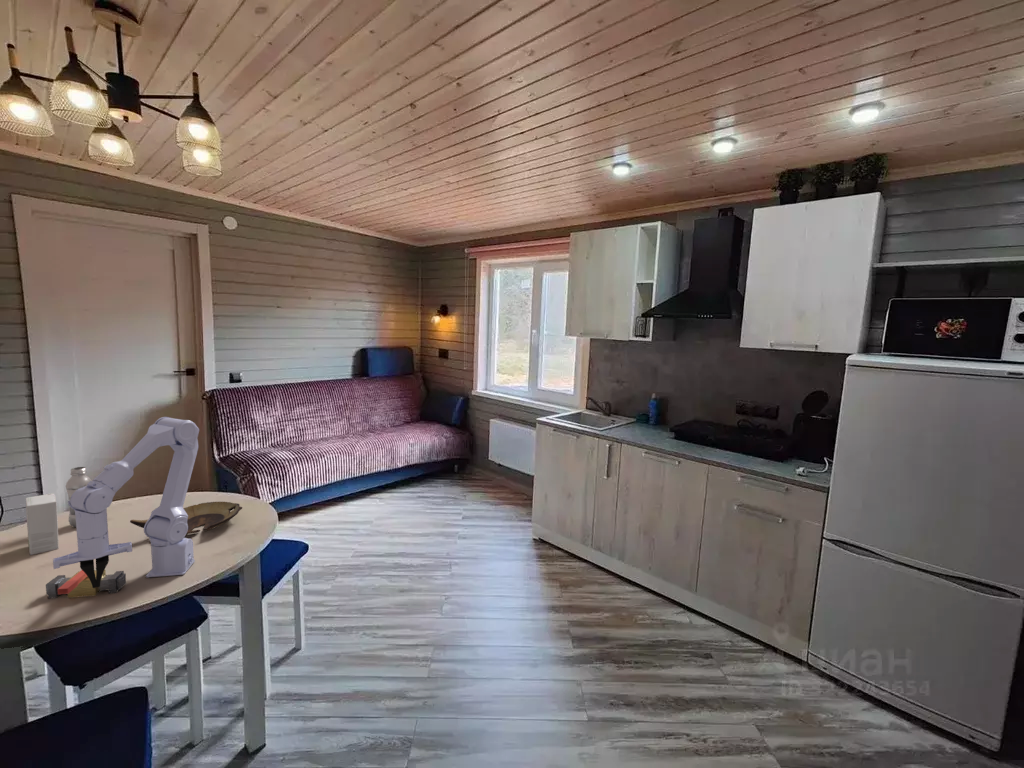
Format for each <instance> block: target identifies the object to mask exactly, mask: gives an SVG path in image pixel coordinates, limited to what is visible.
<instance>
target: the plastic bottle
mask: <svg viewBox="0 0 1024 768" xmlns="http://www.w3.org/2000/svg"><path fill="white" fill-rule="evenodd" d="M92 480H93V479H92V478H90V476H88V475H87V468H86V466H77V467H73V468H71V469H70V478H69V479H68V480H67V481H66V483H65V489H66V490H65V491H66V492H67V496H68V501H70V499H71V496H72V494H73V493H74V492H75V491H76V490H78V489H79V488H83V487H85V486H87V484H88V483H89V482H90V481H92ZM68 524H69V525H70V526H71V527H73V528H76V515H75V511H74V509H72V508H71V507H70V506H69V515H68Z"/></svg>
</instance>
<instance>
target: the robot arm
mask: <svg viewBox="0 0 1024 768" xmlns="http://www.w3.org/2000/svg"><path fill="white" fill-rule="evenodd" d="M199 432H200V428H199V427H198V426H197V424H196V422H193V421H192V420H189V419H180V418H173V417H171V416H170V417H169V416H162V417H159V418H158V419H157V420H155V421H154V423H152V424H151V425H150V426H149V427H148V429H147V432H146V434H145V435H143V437H142V438H141V439H139V441H138V442H137V444H135V446H134V447H132V448H131V449H130V451H129V452H128V453H127V454H126V455H125V456H124V457H123V458H121V460H118V461H113V462H110V464H108V463H107V464H106V465H105V466H104V467H103V470H102V471H101V472H100V473H99V474H98V475H96V476H95V477H94V478H93V479H91V480H92V481H90V482H89V483H88V484H87V486H85V487H83V488H79V489H78V490H76V491H75V492H74V493H73V494H72V496H71V499H70V501H69V500H68V501H67V504H68V507H69V508H70V507H71V508H72V509H74V511H75V515H76V527H75V528H76V539H77V541H76V542H77V551H75V552H71V553H69V554H65V555H62V556H57V557H53V559H52V565H53V566H52V567H53V570H56V569H59V568H61V567H64V566H69V565H73V564H74V565H75V564H78V563H79V568H80V569H81V570H83V571H84V572H85V574H86V575H87V576H88V578H89V579H90V581H91V584H92V587H93V588H96V587H100V582H101V578H102V575H103V572H104V570H106V568H107V566H108V564H109V562H110V558H109V557H110V556H115V555H117V554H123V553H131V552H133V544H132V541H128V542H122V543H113V544H110V542H109V540H110V539H109V529H108V525H109V524H108V510H107V509H108V508H110V506H111V504H113V499H114V496H116V493H117V492H118V491H119V490H120V489H121V488H122V487H124V485H125V484H127V482H128V481H130V479H131V478H132V477H133V476H134V472H135V471H134V469H135V468H137V466H138V465H140V464H141V463H142V462H143V461H144V460H145V459H147V458H148V457H149V456H150V455H151V454H152V453H154V452H155V451H156V450H157V449H158V448H160V447H164V446H169V447H170V448H171V449H172V451H174V452H173V455H172V461H171V462H170V466H169V471H168V474H167V479H166V482H165V486H164V489H163V492H162V496H161V499H160V500H161V501H160V503H159V506H157V507H156V508H155V509H154V510H152V511H151V513H150V516H149V518H148V521H147V522H146V524H145V526H144V528H143V533H144V535H145V536H146V537H148V538H149V542H150V549H151V550H150V551H151V555H150V556H151V570H150V571H149V572H148V573H147V574H146V575H145V578H156V577H157V578H158V577H167V576H168V577H169V576H170V577H172V576H182V575H185V574H186V572H187V571H188V570H189V569H190V568H191V566H192V565H193V564H194V563H195V561H196V559H194V557H195V556H194V541H193V539H192V538H187V537H186V535H187V534H186V533H187V531H188V524H187V519H188V515H187V513H186V512H185V510H184V509H183V508H184V503H185V500H186V496H187V493H188V489H189V486H190V482H191V481H190V480H191V477H192V473H193V470H194V466H195V462H196V458H197V455H198V451H199V440H198V439H199V438H198V437H199ZM94 560H95V562H94ZM94 570H96V577H95V572H94Z"/></svg>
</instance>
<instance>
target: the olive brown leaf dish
mask: <svg viewBox="0 0 1024 768" xmlns="http://www.w3.org/2000/svg"><path fill="white" fill-rule="evenodd" d="M183 509H184V510H185V512H186V513H187V515H188V519H187V524H188V531H187V533H186V535H188V534H195V533H196V534H198V533H200V532H201V529H196V528H199V527H201V526H202V527H203V528H202V531H203V532H207V531H210V530H213V529H215V528H217V527H220V526H221V525H223V524H225V523H227V522H228V521H230V520H232V519H233V518H234V517H236V516H237V515H238V514H239V512H240V511H241V510H242V509H243V507H242V506H240V503H235V502H231V501H229V502H228V501H210V502H209V501H207V502H202V503H201V502H200V503H198V504H192V505H189V506H186V507H183ZM148 519H149V518H148ZM148 519H143V520H142V519H141V520H140V519H131V520H130V521H129V523H131V524H132V525H135V526H137V527H139V528H142V529H144V526H145V524H146V522H147V521H148ZM194 529H195V530H194Z"/></svg>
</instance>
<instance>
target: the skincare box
mask: <svg viewBox="0 0 1024 768" xmlns="http://www.w3.org/2000/svg"><path fill="white" fill-rule="evenodd" d="M57 504H58V503H57V497H56V495H55V493H48V494H47V493H46V494H40V495H36V496H28V497H25V513H26V515H25V516H26V527H27V528H26V529H27V540H28V541H27V542H28V550H29V551H28V552H29V556H33V555H34V556H35V555H38V554H42V553H47V552H51V551H54V550H58V549H59V527H58V526H59V525H58V524H59V523H58V522H59V521H58V505H57Z"/></svg>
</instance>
